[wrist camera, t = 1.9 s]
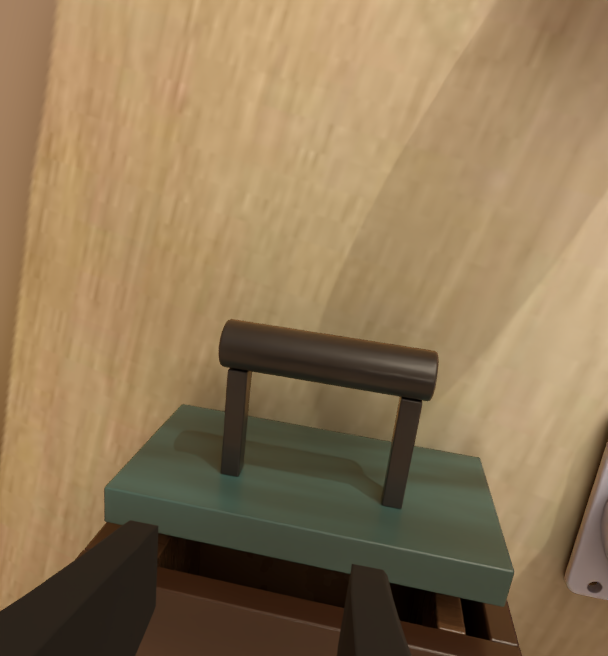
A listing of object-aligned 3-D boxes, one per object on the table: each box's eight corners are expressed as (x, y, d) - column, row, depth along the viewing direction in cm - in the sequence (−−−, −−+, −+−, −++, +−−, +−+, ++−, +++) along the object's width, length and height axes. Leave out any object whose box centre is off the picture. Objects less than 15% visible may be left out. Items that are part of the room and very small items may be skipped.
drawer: (187, 280, 19) (102, 323, 13) (511, 329, 17) (564, 399, 12) (169, 689, 25) (104, 835, 19) (409, 750, 23) (414, 926, 18)
